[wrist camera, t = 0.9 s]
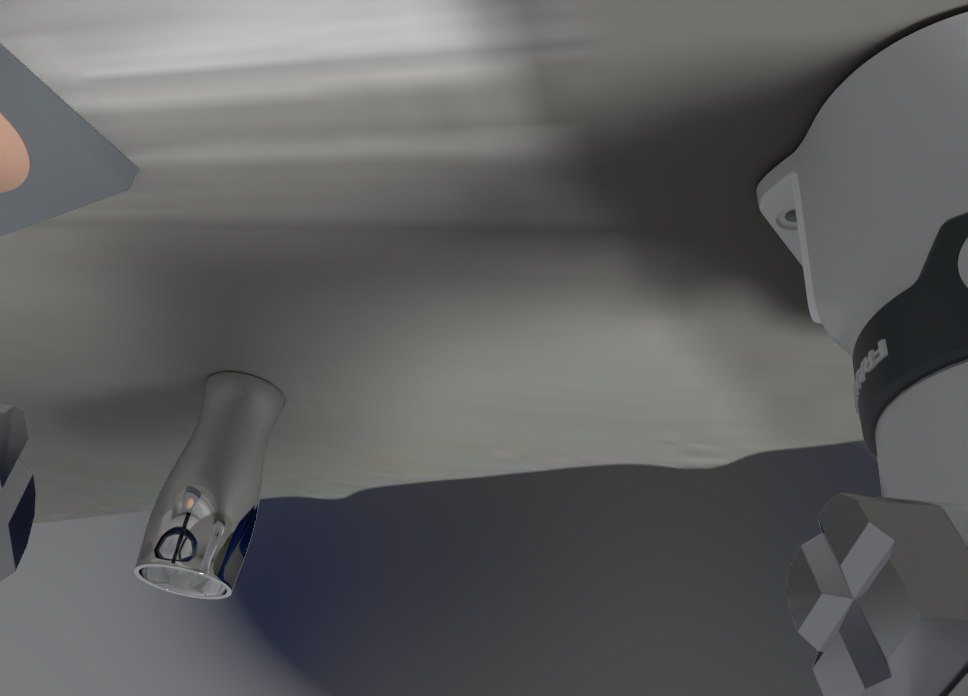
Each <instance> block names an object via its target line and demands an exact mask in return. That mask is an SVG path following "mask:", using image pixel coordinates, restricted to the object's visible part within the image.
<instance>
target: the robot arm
mask: <svg viewBox="0 0 968 696" xmlns="http://www.w3.org/2000/svg"><path fill="white" fill-rule="evenodd" d="M756 194H757V199H758V204H759V208H760V211H761V213H762V214H763V215H764V217H765V218H766V219H767V221H768V222H769V223H770V225H771V226H772V227H773V229H774V230H775V231H776V233H777V234H778V235H779V236H780V238H781V239H782V240H783V242H784V243H785V244H786V246H787V247H788V248H789V250H790V251H791V252H792V254H793V255H794V256H795V257H796V259H797V260H798V261H799V263H800V264H801V265H802V267H803V272H804V279H805V287H806V294H807V301H808V307H809V311H810V315H811V318H812V320H813V321H814V322H816V323H820V324H823V326H824V328H825V330H826V332H827V333H828V335H829V336H830V337H831V338H832V339H833V340H834V341H835V342H836V343H837V344H838V345H839V346H840V347H841V348H842V349H843V350H844V351H845V352H846V353H848V354H849V355H850V356H851V357H852V358H853V368H854V376H855V379H854V384H853V387H854V389H853V392H854V399H855V406H856V412H858V413H859V420H860V422H861V426H862V432H863V437H864V440H865V442H866V444H867V446H868V448H869V449H870V451H871V452H872V453H873V454H874V455H875V456H876V457H877V458H878V466H879V474H880V482H881V489H882V497H876V496H866V495H855V494H845V493H840V494H838V495H837V496H835V497H834V498H832V499H831V500H829V501H828V502H827V504H826V505H825V507H824V509H823V510H822V512H821V513H820V515H819V517H818V520H819V524H820V527H821V530H822V534H820V535H818V536H817V537H815V538H813V539H812V540H810V541H808V542H807V543H805V544H803V545H802V546H801V547H800V548H799V550H798V552H797V554H796V556H795V558H794V560H793V562H792V564H791V565H790V568H789V577H788V585H787V596H788V603H789V609H790V613H791V616H792V618H793V621H794V623H795V626H796V629H797V631H798V633H800V634H801V635H802V636H803V637H804V638H805V639H806V640H807V641H808V642H809V643H810V644H811V645H813V647H815V648H816V649H817V650H818V654H817V657H816V660H815V663H814V666H813V671H814V673H815V676H816V678H817V680H818V682H819V685H820V688H821V690H822V693H823V695H824V696H968V12H965V13H962V14H959V15H956V16H953V17H950V18H947V19H945V20H942V21H939V22H937V23H934V24H932V25H930V26H927V27H925V28H923V29H920V30H918V31H916V32H914V33H912V34H910V35H908V36H906V37H904V38H903V39H901V40H899V41H897V42H895V43H894V44H892V45H890V46H889V47H887V48H886V49H884V50H882V51H881V52H879V53H878V54H876V55H875V56H874V57H872V58H871V59H869V60H868V61H867V62H865V63H864V64H863V65H862V66H860V67H859V68H858V69H857V70H856V71H854V72H853V73H852V74H851V75H850V76H849V77H848V78H847V79H846V80H845V81H844V82H843V83H842V84H841V85H840V86H839V87H838V88H837V89H836V90H835V91H834V92H833V94H832V95H831V96H830V97H829V98H828V100H827V101H826V102H825V104H824V105H823V106H822V108H821V109H820V111H819V113H818V114H817V116H816V118H815V119H814V121H813V123H812V125H811V127H810V129H809V131H808V133H807V134H806V136H805V138H804V140H803V141H802V143H801V144H800V146H799V147H798V148H797V150H796V151H795V152H794V153H793V154H791V155H790V156H789V157H787V158H786V159H785V160H784V161H782V162H781V163H780V164H779V165H777V166H776V167H775V168H774V169H773V170H771V171H770V172H769V173H768V174H767V175H766V176H765V177H764V178H763V179H762V180H761V182H760V183H759V185H758V187H757V190H756ZM791 210H794V211H791ZM27 440H28V434H27V429H26V424H25V418H24V413H23V411H21V410H20V409H18V408H17V407H15V406H10V405H2V404H0V581H2V580H3V579H5V578H6V577H8V576H9V575H11V574H12V573H14V572H15V571H16V569H17V567H18V565H19V563H20V560H21V558H22V556H23V553H24V551H25V549H26V547H27V544H28V540H29V536H30V532H31V527H32V524H33V520H34V516H35V496H36V491H35V483H34V475H33V473H32V472H31V471H30V470H29V469H28V468H27V467H26V466H25V465H24V464H23V463H22V462H21V461H20V460H19V459H18V457H19V455H20V454H21V452H22V450H23V448H24V446H25V444H26V442H27Z"/></svg>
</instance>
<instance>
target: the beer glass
mask: <svg viewBox="0 0 968 696" xmlns="http://www.w3.org/2000/svg"><path fill="white" fill-rule="evenodd" d="M284 405H285V399H284V396H283V395H282V393H281V392H280V391H279V390H278V389H277V388H276V387H275V386H273V385H272V384H270V383H269V382H267V381H265V380H263V379H260V378H258V377H255V376H252V375H249V374H245V373H239V372H220V373H216V374H214V375H212V376H210V377H209V378H208V379H207V381H206V384H205V388H204V394H203V401H202V407H201V412H200V416H199V419H198V422H197V425H196V427H195V429H194V432H193V434H192V436H191V437H190V439H189V441H188V443H187V445H186V446H185V448H184V450H183V452H182V453H181V455H180V457H179V458H178V460H177V462H176V463H175V465H174V467H173V469H172V470H171V472H170V474H169V475H168V477H167V479H166V481H165V483H164V485H163V487H162V489H161V491H160V493H159V495H158V498H157V500H156V502H155V505H154V507H153V510H152V513H151V516H150V519H149V522H148V525H147V528H146V531H145V534H144V538H143V541H142V545H141V549H140V553H139V557H138V560H137V563H136V566H135V569H134V573H135V575H136V576H137V577H138V578H139V579H141V580H142V581H144V582H145V583H148V584H149V585H152V586H154V587H156V588H159V589H162V590H165V591H168V592H171V593H175V594H179V595H184V596H189V597H194V598H202V599H222V598H226V597H228V596H230V595H231V593H232V589H233V586H234V584H235V581H236V579H237V576H238V573H239V571H240V569H241V566H242V563H243V561H244V558H245V555H246V552H247V549H248V546H249V543H250V540H251V537H252V533H253V530H254V526H255V522H256V517H257V511H258V506H259V499H260V491H261V482H262V472H263V464H264V456H265V451H266V447H267V443H268V440H269V437H270V434H271V432H272V430H273V428H274V426H275V424H276V422H277V420H278V418H279V416H280V414H281V413H282V410H283V408H284Z"/></svg>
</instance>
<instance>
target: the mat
mask: <svg viewBox="0 0 968 696" xmlns="http://www.w3.org/2000/svg"><path fill="white" fill-rule="evenodd" d="M138 170H139V169H138V168H137V167H136V166H135V165H134V164H133V163H131V162H130V161H129V160H128V159H127V158H126V157H125V156H124V155H123V154H121V153H120V152H119V151H118V150H117V149H116V148H115V147H114V146H113V145H112V144H110V143H109V142H108V141H107V140H106V139H105V138H104V137H103V136H102V135H100V134H99V133H98V132H97V131H96V130H95V129H94V128H93V127H92V126H90V125H89V124H88V123H87V122H86V121H85V120H84V119H83V118H82V117H81V116H79V115H78V114H77V113H76V112H75V111H74V110H73V109H72V108H71V107H69V106H68V105H67V104H66V103H65V102H64V101H63V100H62V99H61V98H60V97H58V96H57V95H56V94H55V93H54V92H53V91H52V90H51V89H50V88H48V87H47V86H46V85H45V84H44V83H43V82H42V81H41V80H40V79H39V78H37V77H36V76H35V75H34V74H33V73H32V72H31V71H30V70H29V69H27V68H26V67H25V66H24V65H23V64H22V63H21V62H20V61H19V60H18V59H16V58H15V57H14V56H13V55H12V54H11V53H10V52H9V51H8V50H6V49H5V48H4V47H3V46H2V45H1V44H0V236H2V235H5V234H8V233H11V232H13V231H16V230H19V229H22V228H24V227H27V226H30V225H33V224H35V223H38V222H41V221H44V220H46V219H49V218H52V217H55V216H57V215H60V214H63V213H66V212H68V211H71V210H74V209H77V208H79V207H82V206H85V205H88V204H90V203H93V202H96V201H99V200H101V199H104V198H107V197H110V196H112V195H115V194H118V193H121V192H123V191H126V190H129V188H130V186H131V184H132V182H133V180H134V178H135V176H136V174H137V172H138Z"/></svg>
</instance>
